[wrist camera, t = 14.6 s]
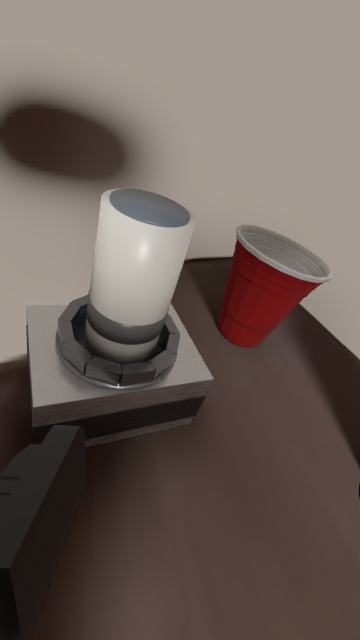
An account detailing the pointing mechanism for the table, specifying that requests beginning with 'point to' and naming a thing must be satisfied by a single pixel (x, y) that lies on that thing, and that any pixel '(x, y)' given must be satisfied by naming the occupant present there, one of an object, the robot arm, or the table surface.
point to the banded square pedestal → (109, 379)
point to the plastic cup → (266, 284)
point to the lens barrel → (134, 273)
